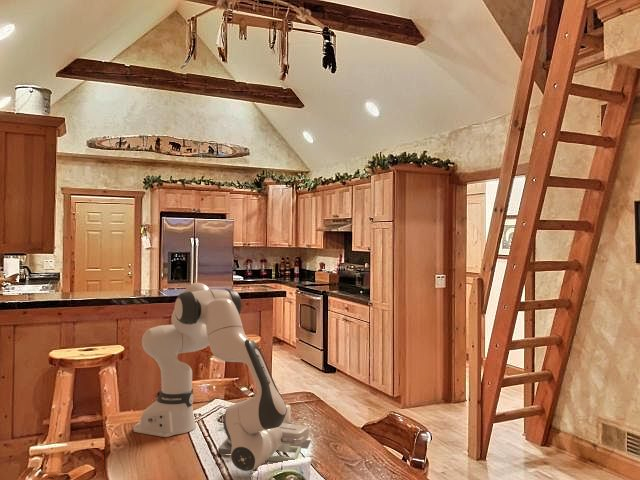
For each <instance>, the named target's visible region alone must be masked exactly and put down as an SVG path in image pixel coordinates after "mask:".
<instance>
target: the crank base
mask: <svg viewBox="0 0 640 480" xmlns="http://www.w3.org/2000/svg"><path fill="white" fill-rule="evenodd" d="M231 449H232V446H231V445H229V444H228V442H227V438H226V439H225V440H224V441H223V442H222V444H221V445H220V446H219V447H218V449H217V455H219V454H231Z"/></svg>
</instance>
